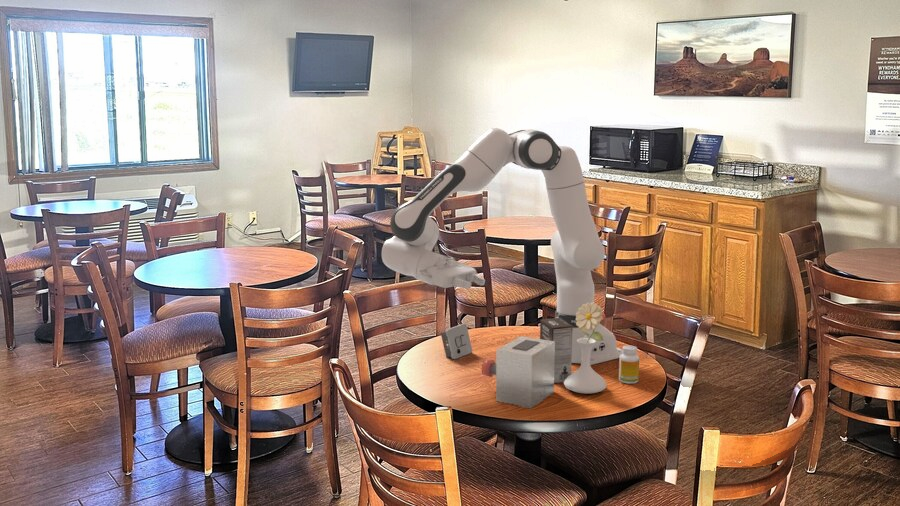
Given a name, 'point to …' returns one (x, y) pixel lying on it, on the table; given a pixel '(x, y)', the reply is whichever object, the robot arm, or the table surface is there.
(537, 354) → the box
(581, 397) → the table surface
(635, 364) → the supplement bottle
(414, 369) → the table surface
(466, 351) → the electrical switch
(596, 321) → the flower in vase
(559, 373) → the coffee box
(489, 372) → the breaker plunger
